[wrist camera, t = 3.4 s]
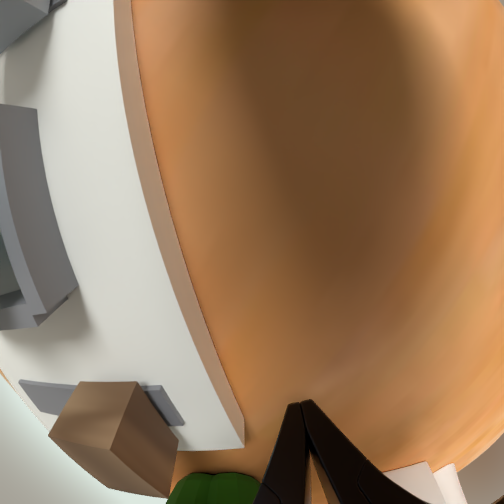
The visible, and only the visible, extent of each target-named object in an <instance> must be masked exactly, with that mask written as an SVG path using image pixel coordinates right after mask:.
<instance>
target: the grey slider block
mask: <svg viewBox="0 0 504 504" xmlns="http://www.w3.org/2000/svg"><path fill="white" fill-rule="evenodd" d="M49 4H50V0H0V54H1V53H2V52H3V51H4V50H5V49H6V48H7V47H8V46H10V45H11V44H12V43H13V42H14V41H15V40H16V39H17V38H19V37H20V36H21V35H22V34H23V33H25V32H26V31H27V30H28V29H29V28H31V27H32V26H33V25H35V24H36V23H37V22H38V21H40V20H41V19H42V18H44V17H45V16H47V15H48V10H49Z"/></svg>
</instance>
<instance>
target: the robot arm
mask: <svg viewBox="0 0 504 504" xmlns="http://www.w3.org/2000/svg"><path fill="white" fill-rule="evenodd" d="M308 445H309V446H308ZM309 450H310V452H309ZM310 454H311V457H312V460H313V463H314V466H315V468H316V471H317V474H318V477H319V479H320V482H321V485H322V487H323V490H324V493H325V495H326V498H327V501H328V504H430V503H428V502H425V501H423V500H421V499H419V498H418V497H416V496H414V495H413V494H411V493H410V492H408V491H407V490H405V489H404V488H402V487H401V486H399V485H398V484H396V483H395V482H393V481H392V480H391V479H389V478H388V477H387V476H385V475H384V474H383V473H382V472H381V471H380V470H379V469H377V468H376V467H375V466H374V465H373V464H372V463H371V462H370V461H369V460H368V459H367V458H366V457H365V456H364V455H363V454H362V453H361V452H360V451H359V450H358V449H357V448H356V447H355V446H354V445H353V444H352V442H351V441H350V440H349V439H348V438H347V437H346V436H345V435H344V434H343V433H342V432H341V431H340V430H339V429H338V428H337V427H336V425H335V424H334V423H333V422H332V421H331V420H330V419H329V418H328V417H327V416H326V415H325V413H324V412H323V411H322V410H321V409H320V408H319V407H318V406H317V405H316V403H315V402H314V401H313V400H311V399H309V400H305V401H301V402H300V403H299V402H296V403H291V404H288V406H287V409H286V412H285V416H284V419H283V422H282V425H281V428H280V431H279V435H278V438H277V441H276V444H275V446H274V449H273V452H272V455H271V458H270V461H269V464H268V466H267V469H266V472H265V474H264V477H263V480H262V483H261V485H260V487H259V490H258V492H257V494H256V497H255V499H254V501H253V503H252V504H311V467H310ZM366 459H367V460H366ZM492 504H504V495H503V496H502V497H500V498H499V499H497V500H496V501H495V502H493V503H492Z"/></svg>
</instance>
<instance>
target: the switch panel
mask: <svg viewBox="0 0 504 504" xmlns="http://www.w3.org/2000/svg"><path fill="white" fill-rule="evenodd" d="M0 369H1V370H2V372H3V373H4V375H5V376H6V378H7V379H8V381H9V382H10V384H11V385H12V386H13V388H14V389H15V391H16V392H17V393H18V395H19V396H20V397H21V399H22V400H23V401H24V402H25V404H26V405H27V406H28V407H29V409H30V410H31V411H32V412H33V414H34V415H35V416H36V417H37V418H38V419H39V420H40V422H41V423H42V424H43V425H44V426H45V427H46V428H47V429H48V430H49V432H50V431H51V429H52V427H53V425H54V423H55V422H56V420H57V418H58V416H59V415H60V413H61V411H62V410H63V408H64V406H65V405H66V403H67V401H68V400H69V398H70V396H71V395H72V393H73V391H74V390H75V388H76V387H77V385H78V383H79V382H80V381H89V382H129V381H137V382H138V383H139V385H140V386H141V388H142V390H143V391H144V393H145V394H146V396H147V397H148V399H149V400H150V402H151V403H152V405H153V406H154V408H155V409H156V410H157V412H158V413H159V415H160V416H161V417H162V419H163V420H164V422H165V423H166V424H167V426H168V427H169V428H170V430H171V431H172V432H173V433H174V435H175V436H176V437H177V439H178V440H179V443H178V448H177V451H206V450H225V449H237V448H244V417H243V415H242V413H241V410H240V408H239V406H238V403H237V401H236V399H235V397H234V394H233V392H232V389H231V387H230V385H229V382H228V380H227V377H226V375H225V373H224V370H223V368H222V365H221V363H220V360H219V357H218V355H217V352H216V350H215V347H214V345H213V342H212V339H211V337H210V334H209V331H208V328H207V326H206V323H205V320H204V317H203V315H202V312H201V309H200V306H199V303H198V300H197V297H196V294H195V292H194V289H193V286H192V283H191V280H190V276H189V273H188V270H187V267H186V264H185V261H184V258H183V254H182V251H181V248H180V245H179V241H178V238H177V234H176V231H175V228H174V224H173V221H172V217H171V213H170V210H169V206H168V202H167V199H166V195H165V191H164V187H163V183H162V179H161V175H160V171H159V167H158V163H157V159H156V155H155V150H154V146H153V141H152V137H151V132H150V127H149V122H148V117H147V112H146V107H145V102H144V97H143V91H142V85H141V79H140V73H139V67H138V60H137V53H136V46H135V38H134V29H133V20H132V9H131V0H50V4H49V10H48V15H47V16H45V17H44V18H42V19H41V20H40V21H38V22H37V23H36V24H35V25H33V26H32V27H31V28H29V29H28V30H27V31H26V32H25V33H23V34H22V35H21V36H20V37H19V38H17V39H16V40H15V41H14V42H13V43H12V44H11V45H10V46H8V47H7V48H6V49H5V50H4V51H3V52H2V53H1V54H0Z"/></svg>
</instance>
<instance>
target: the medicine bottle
mask: <svg viewBox="0 0 504 504" xmlns="http://www.w3.org/2000/svg"><path fill="white" fill-rule="evenodd" d="M383 474H384V475H385V476H387V477H388V478H389V479H391V480H392V481H393V482H395V483H396V484H398V485H399V486H401V487H402V488H404V489H405V490H407V491H408V492H410V493H411V494H413V495H414V496H416V497H418V498H419V499H421V500H423V501H425V502H428V503H430V504H446V502H445V500H444V497H443V495H442V493H441V491H440V488H439V486H438V484H437V482H436V480H435V478H434V475H433V473H432V471H431V469H430V467H429V465H428V463H427V462H426V461H424V462H420V463H417V464H414V465H410V466H407V467H403V468H399V469H396V470H391V471H387V472H383Z"/></svg>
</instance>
